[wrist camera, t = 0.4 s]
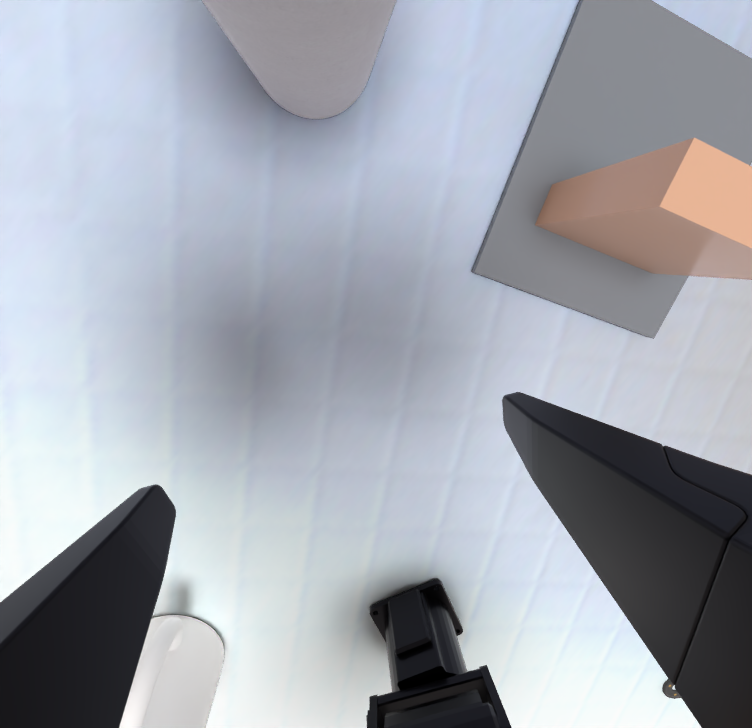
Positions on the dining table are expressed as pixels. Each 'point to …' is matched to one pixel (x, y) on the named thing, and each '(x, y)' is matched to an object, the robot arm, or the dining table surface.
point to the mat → (614, 149)
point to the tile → (662, 211)
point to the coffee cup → (307, 48)
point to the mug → (175, 675)
